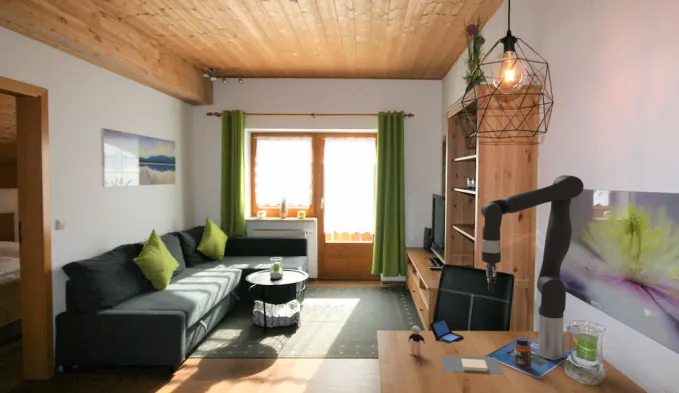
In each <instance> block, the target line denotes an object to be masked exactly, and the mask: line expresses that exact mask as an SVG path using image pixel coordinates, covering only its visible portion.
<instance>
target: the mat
mask: <svg viewBox="0 0 679 393" xmlns="http://www.w3.org/2000/svg"><path fill="white" fill-rule="evenodd" d="M440 357H441V364H442V370H443V372H444V371H445V372H446V371H447V372H462V373H463V372H464V373H477V374H491V375H492V374H493V375H494V374H495V375H504V372H503V370H502V368H501V366H500V364H499V362H498V359H497V357H491V356H489V357H487V356H471V355H469V356H468V355H455V354H454V355H452V354H440ZM461 359H477V360H485V362H486V365H487V367H488V371H487V372H478V371H463V367H462V363H461Z"/></svg>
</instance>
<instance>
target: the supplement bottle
mask: <svg viewBox="0 0 679 393" xmlns="http://www.w3.org/2000/svg"><path fill="white" fill-rule="evenodd" d="M528 339H529V338H527V337H524V336H518V337H517V338H516V342H515V343H514V346H513V347H514V348H513V349H514V350H513V352H514V356H513V357H514V358H513V359H514V360H513V361H514V362H513V364H514V365H515V366H516V367H517V368H521V369H527V370H529V369H531V366H532V364H531V362H532V360H531V356H532V354H531V353H532V351H531V345H530V343H529V340H528Z"/></svg>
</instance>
